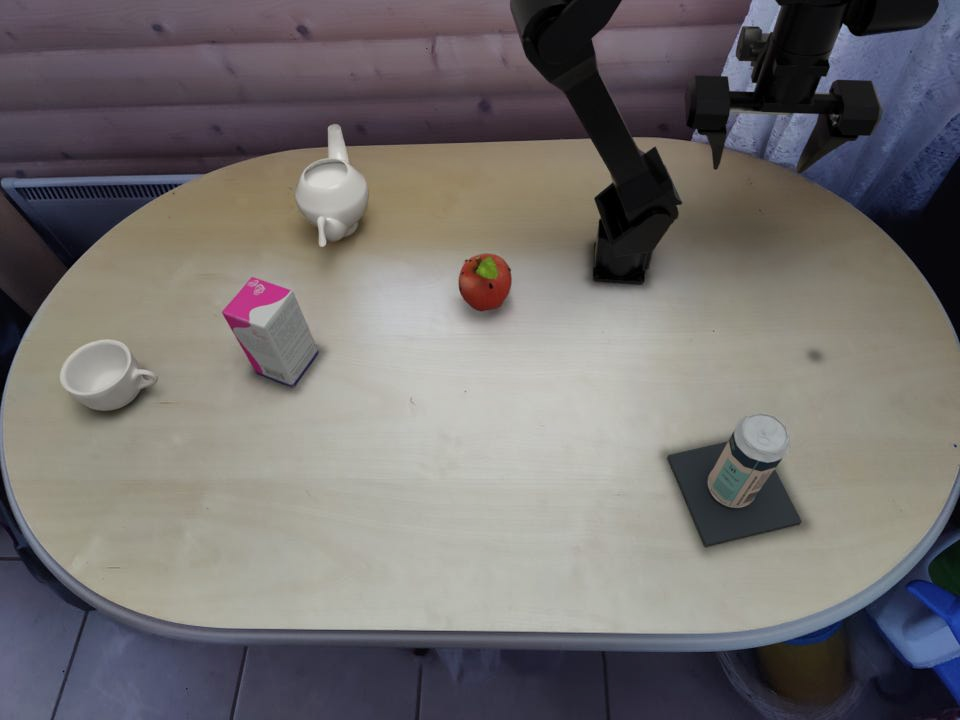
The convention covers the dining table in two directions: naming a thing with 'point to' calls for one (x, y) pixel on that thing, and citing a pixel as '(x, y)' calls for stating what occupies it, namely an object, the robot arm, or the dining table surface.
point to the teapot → (332, 191)
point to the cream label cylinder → (748, 459)
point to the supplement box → (271, 331)
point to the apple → (485, 281)
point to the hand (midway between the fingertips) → (756, 169)
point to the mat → (721, 520)
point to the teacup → (104, 375)
